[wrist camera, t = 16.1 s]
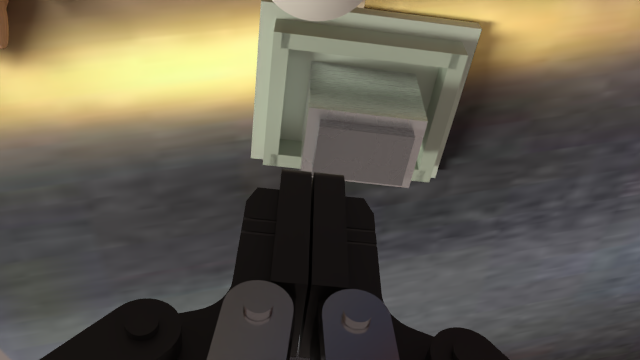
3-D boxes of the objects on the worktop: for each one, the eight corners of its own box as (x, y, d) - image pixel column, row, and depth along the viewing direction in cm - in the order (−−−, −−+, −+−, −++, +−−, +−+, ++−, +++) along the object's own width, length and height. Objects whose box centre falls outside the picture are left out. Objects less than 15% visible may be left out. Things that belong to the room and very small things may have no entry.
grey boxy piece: (399, 135, 41) (410, 195, 36) (302, 124, 41) (299, 183, 36) (415, 73, 38) (429, 129, 33) (311, 60, 38) (308, 114, 32)
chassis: (433, 169, 44) (439, 194, 42) (252, 150, 44) (247, 174, 41) (478, 22, 37) (489, 42, 35) (262, -5, 36) (258, 13, 34)
